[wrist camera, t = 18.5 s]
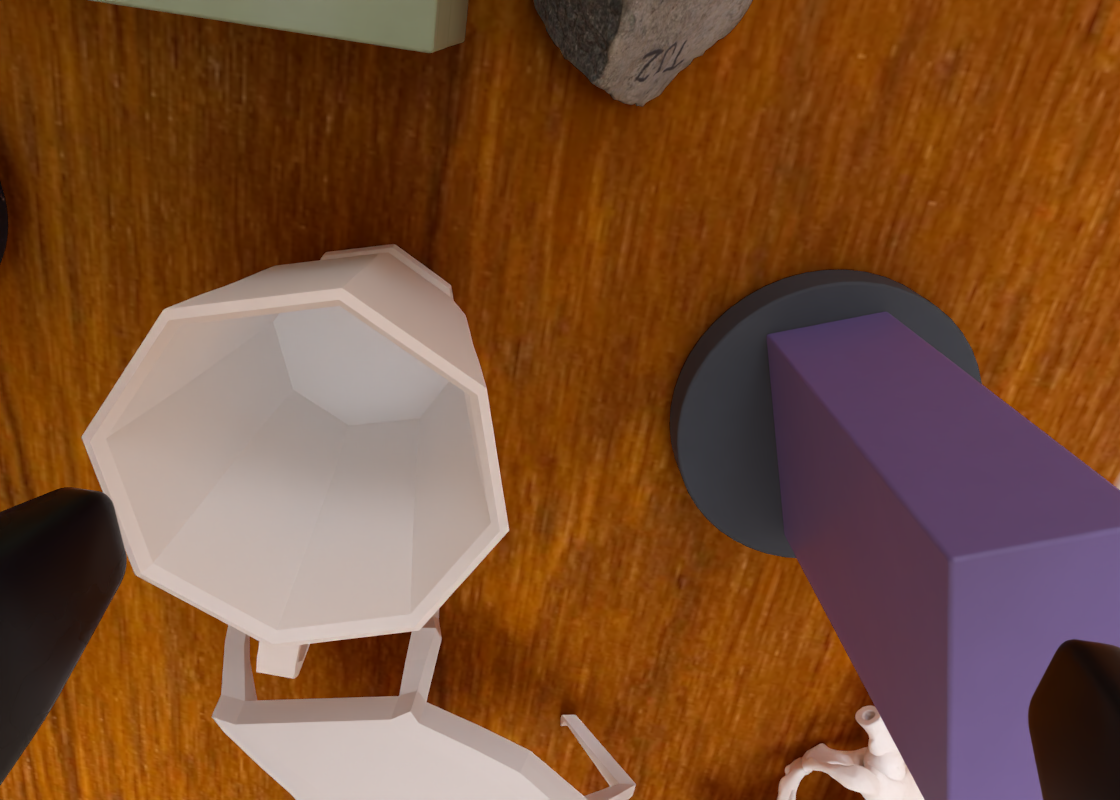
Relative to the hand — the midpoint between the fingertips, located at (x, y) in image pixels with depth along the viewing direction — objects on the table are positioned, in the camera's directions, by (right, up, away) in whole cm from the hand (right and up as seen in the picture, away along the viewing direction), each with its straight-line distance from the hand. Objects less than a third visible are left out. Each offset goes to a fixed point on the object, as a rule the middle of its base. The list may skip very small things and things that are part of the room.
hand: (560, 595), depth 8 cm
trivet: (+7, +2, +15) cm, 16 cm away
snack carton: (+7, +1, +14) cm, 15 cm away
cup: (-5, +3, +14) cm, 15 cm away
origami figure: (-3, -7, +18) cm, 20 cm away
